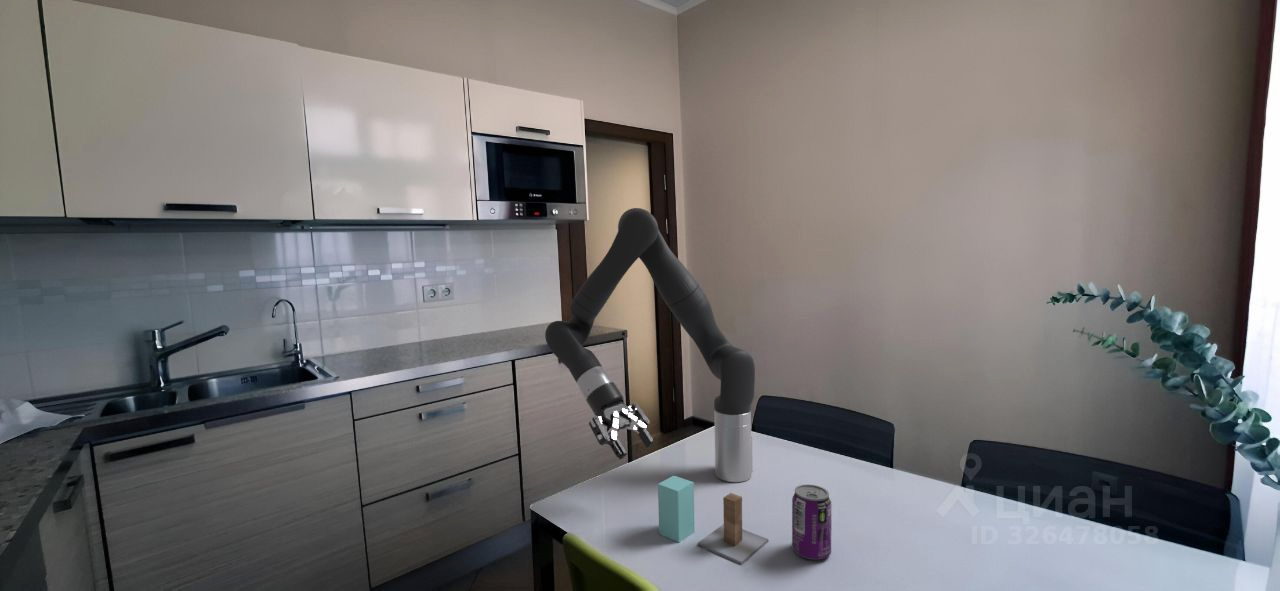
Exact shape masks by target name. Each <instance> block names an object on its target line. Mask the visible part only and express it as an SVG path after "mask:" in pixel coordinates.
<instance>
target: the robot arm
mask: <svg viewBox="0 0 1280 591" xmlns="http://www.w3.org/2000/svg"><path fill="white" fill-rule="evenodd" d="M654 216H655V215H653V214H651V212H649V211H648V210H646V209H644V208H641V207H639V208H638V207H633V208H629V209H627V210H625V211H624V212H623V213H622V215H621V216H620V218H619V220H618V223H617V224H618V225H617V233H616V235H615V238H614V240H613V242H612V244H611V246H610V248H609V249H608V250H607V253H606V254H605V256H604V257H603V259H602V260H601V261H600V263H599V264H598V265H597V266H596V268H595V269H594V270H593V271H592V272H591V274H590V275H589V276H588V277H587V278H586V280H585V281H584V282H583V283H582V285H581V286H580V289H579V290H578V291H577V293H576V294H575V296H574V297H573V299H572V300H571V301H570V303H569V311H570V313H571V314H572V316H571V319H570V320H569V321H564V320H555V321H553V322H551V323H549V324H548V325H547V327H546V329H545V332H544V333H545V335H544V338H545V342H546V344H547V346H548V348H549V349H550V351H551V352H552V353H553V355H554V356H555V357H556V358H558V360H559V361H560V362H561V363H562V364H563V365H564V366H565V367H566V368H567V369H568V371H569V372H570V374H571V376H572V377H573V379H574V381H575V382H576V384H577V386H578V389H579V390H580V393H581V394H582V396H583V398H584V399H585V401H586V403H587V405H588V406H589V407H590V409H591V411H592V412H593V414H594V415H593V417H592V418H591V419H590V420H589V421H588V425H589V427H590V429H591V430H592V433H593V434H594V436H595V438H596V440H597V442H598V443H599V445H600V446H604V445H607V446H609V447H610V448H611V450H612V451H613V453H614V455H615V456H616V457H617V458H618V459H619V460H623V459H624V458H625V457H626V456H627V454H628V452H627V451H626V449H625V447H624V445H623V444H622V442H621V441H620V440H619V438H618V437H617V436H618V432H619V431H620V430H624V429H627V430H629V431H630V430H631V431H634V432H635V433H638V436H639V439H640V440H641V442H642V443H643V444H644V447H645V448H647V449H648V448H650V447H651V446H653V444H654V439H653V437H652V435H651V434H650V432H649V431H648V429H647V427H648V425H649V424H651V421H650V419H649V418H648V416H647V415H646V414H645V412H644V410H643V409H642V408H641V407H640V405H639V404H638V403H637V402H633V403H632V404H631V405H629V406H628V405H627V404H625V402H624V396H623V394H622V393H621V391H620V390H619V388H618V387H617V385H616V383H615V382H614V381H613V379H612V377H611V376H610V374H609V373H608V372H607V370H606V369H605V368H604V367H603V365H602V364H601V362H600V360H598V357H597V356H596V355H595V354H594V352H593V351H591V349H588V348H586V347H584V345H585V343H586V342H587V340H588V338H589V337H590V333H591V331H592V328H593V326H594V324H595V323H594V322H595V319H596V318H597V317H598V315H599V313H600V312H601V311H602V309H603V307H605V304H606V303H607V302H608V300H609V299H610V297H611V296H612V294H613V292H614V291H615V289H616V288H617V286H618V285H619V283H620V282H621V280H622V279H623V277H624V276H625V274H626V273H627V272H628V271H629V269H630V268H631V267H632V266H633V265H634V263H636V261H637V260H638V259H640V261H641V262H642V263H643V265H644V266H645V268H646V269H647V271H648V273H649V275H650V277H651V279H652V281H653V283H654V285H655V287H656V289H657V291H658V293H659V294H660V296H661V299H662V300H663V301H664V303H665V304H666V306H667V307H668V308H669V310H670V312H671V313H672V314H673V316H674V318H675V319H676V320H677V321H678V323H679V324H680V325H681V327H682V328H683V329H684V331H685V332H686V333H687V334H688V335H689V337H690V338H691V339H692V340H693V342H694V343H695V345H696V346H697V348H698V350H699V352H700V353H701V356H702V357H703V360H704V361H705V362H706V365H707V366H708V369H709V370H710V372H711V374H712V375H714V377H715V378H717V379H719V381H720V392H719V395H718V396H715V398H714V402H713V406H714V408H713V409H714V412H713V415H714V421H713V422H714V470H715V471H714V474H715V476H716V478H717V479H719V480H722V481H725V482H729V483H741V482H742V483H743V482H747V481H748V480H750V479H751V478H752V473H753V471H754V470H753V469H754V468H753V436H752V403H753V402H754V398H755V383H756V381H755V380H756V369H755V368H756V366H755V362H754V361H755V360H754V358H753V357H752V355H751V354H750V353H749V352H748V351H746V350H744V349H742V348H738V347H736V346H734V345H733V344H732V343H730V341H729V340H728V338H726V336H725V335H724V333H723V332H722V331H721V330H720V328H719V326H718V324H717V322H716V319H715V316H714V312H713V309H712V306H711V303H710V300H709V299H708V297H707V295H706V294H705V292H704V291H703V289H702V288H701V286H700V284H699V283H698V282H697V280H696V279H695V277H694V276H693V275H692V274H691V272H690V271H689V270H688V269H687V268H686V266H685V265H684V263H682V262H681V261H680V260H679V258H678V257H677V256H676V255H675V254H674V253H673V251H672V250H671V248H670V247H669V245H668V244H667V242H666V240H665V238H664V237H663V235H662V233H661V232H660V229H659V225H658V222H657V220H656V218H655V217H654ZM604 426H605V427H604Z"/></svg>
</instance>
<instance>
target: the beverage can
mask: <svg viewBox="0 0 1280 591" xmlns="http://www.w3.org/2000/svg"><path fill="white" fill-rule="evenodd" d="M791 503H792V504H791V505H792V507H791V508H792V509H791V510H792V511H791V515H792V516H791V519H792V520H791V522H792V523H791V534H792V535H791V547H792V550H793V551H794V552H795V553H797V555H800V556H801V557H803V558H806V559H808V560H816V561H817V560H822V559H826V558H828V557H830V556H831V554H832V507H833V506H832V500H831V499H830V492H829V491H828V490H827V489H826V488H824V487H822V486H819V485H815V484H800V485H798V486H796V487H795V488H794V494H793V495H792V500H791Z"/></svg>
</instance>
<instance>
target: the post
mask: <svg viewBox="0 0 1280 591" xmlns="http://www.w3.org/2000/svg"><path fill="white" fill-rule="evenodd" d="M722 498H723V524H721V525H720V526H719V527H717V528H716V529H715V530H714V531H712V532H710V533H709V534H708V535H707V536H705V537H704V538H702V539H701V540H700V541H698V542H697V546H699V547H700V548H704V549H705V550H707V551H710V552H712V553H714V554H717V555H719V556H721V557H722V558H723V557H724V558H726V559H728V560H730V561H732V562H734V563H737V564H740V565H743V564H744V563H746V562H747V561H748V560H749V559H750V558H751V557H752V556H754V555H755V554H756V553H757V552H759V550H761V549H762V548H763V547H764V546H765V545H767V544H768V543H769V538H767V537H764V536H761V535H758V534H756V533H753V532H752V531H750V530H749V531H748V530H746V529H743V497H742V496H741V495H738V494H735V493H733V492H730V493H728V494H727V495H725V496H724V497H722Z"/></svg>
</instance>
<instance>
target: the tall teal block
mask: <svg viewBox="0 0 1280 591" xmlns="http://www.w3.org/2000/svg"><path fill="white" fill-rule="evenodd" d="M657 497H658V498H657V499H658V505H657V506H658V534H659V535H660V536H664V537H666V538H667V539H670V540H672V541H675V542H677V543H680V542H682V541H684V540H685V539H686V538H688V537H689V536H690V535H692V534H693V533H695V529H696V528H695V483H694V481H691V480H688V479H685V478H683V477H680V476H676V475H672V476H671V477H670V476H669V477H668V478H666V479H664V480H663V481H661V482H658V483H657Z"/></svg>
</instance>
